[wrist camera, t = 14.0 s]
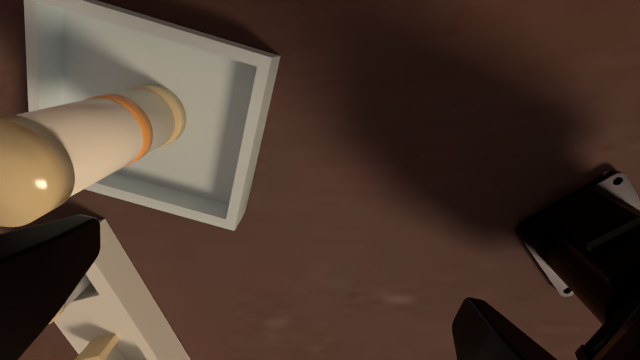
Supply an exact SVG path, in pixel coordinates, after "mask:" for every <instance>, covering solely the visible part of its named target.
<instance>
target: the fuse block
mask: <svg viewBox="0 0 640 360" xmlns="http://www.w3.org/2000/svg"><path fill="white" fill-rule="evenodd" d="M99 221H100V244H101V247H100V252H99V255H98V257H97V258H96V260H95V261H94V263H93V264H92V266H91V267H90V268H89V270H88V271H87V273H86V275H87V277H88V278H89V280H90V281H91V284H90V285H89V286H88V287H87V288H86V289H85V290H84V291H83V292H82V293H80V294H79V295H78V296H77V297H76V298H75V299H74V300H73V301H72V302H71V303H70V304H69V305H68V306H67V307H66V308H65V310H64V311H63V312H62V313H61V314H60V315H59V316H58V317H57V318H56V319H55V320H54V322H55V323H56V325H57V326H58V327H59V329H60V330H61V331H62V333H63V334H64V335H65V337H66V338H67V339H68V341H69V342H70V343H71V345H72V346H73V347H74V349H75V350H76V351H77V353H78V354H79V355H78V356H77V358H76V359H75V360H190V358H189V356H188V355H187V353H186V351H185V350H184V348H183V346H182V345H181V343H180V341H179V340H178V338H177V337H176V335H175V333H174V332H173V330H172V328H171V327H170V325H169V323H168V322H167V320H166V318H165V317H164V315H163V313H162V312H161V310H160V308H159V307H158V305H157V304H156V302H155V300H154V299H153V297H152V295H151V294H150V292H149V290H148V289H147V287H146V285H145V284H144V282H143V280H142V279H141V277H140V276H139V274H138V272H137V271H136V269H135V267H134V266H133V264H132V262H131V261H130V259H129V257H128V256H127V254H126V252H125V251H124V249H123V247H122V246H121V244H120V243H119V241H118V239H117V238H116V236H115V234H114V233H113V231H112V229H111V228H110V226H109V224H108V223H107V221H106V219H103V220H99Z"/></svg>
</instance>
